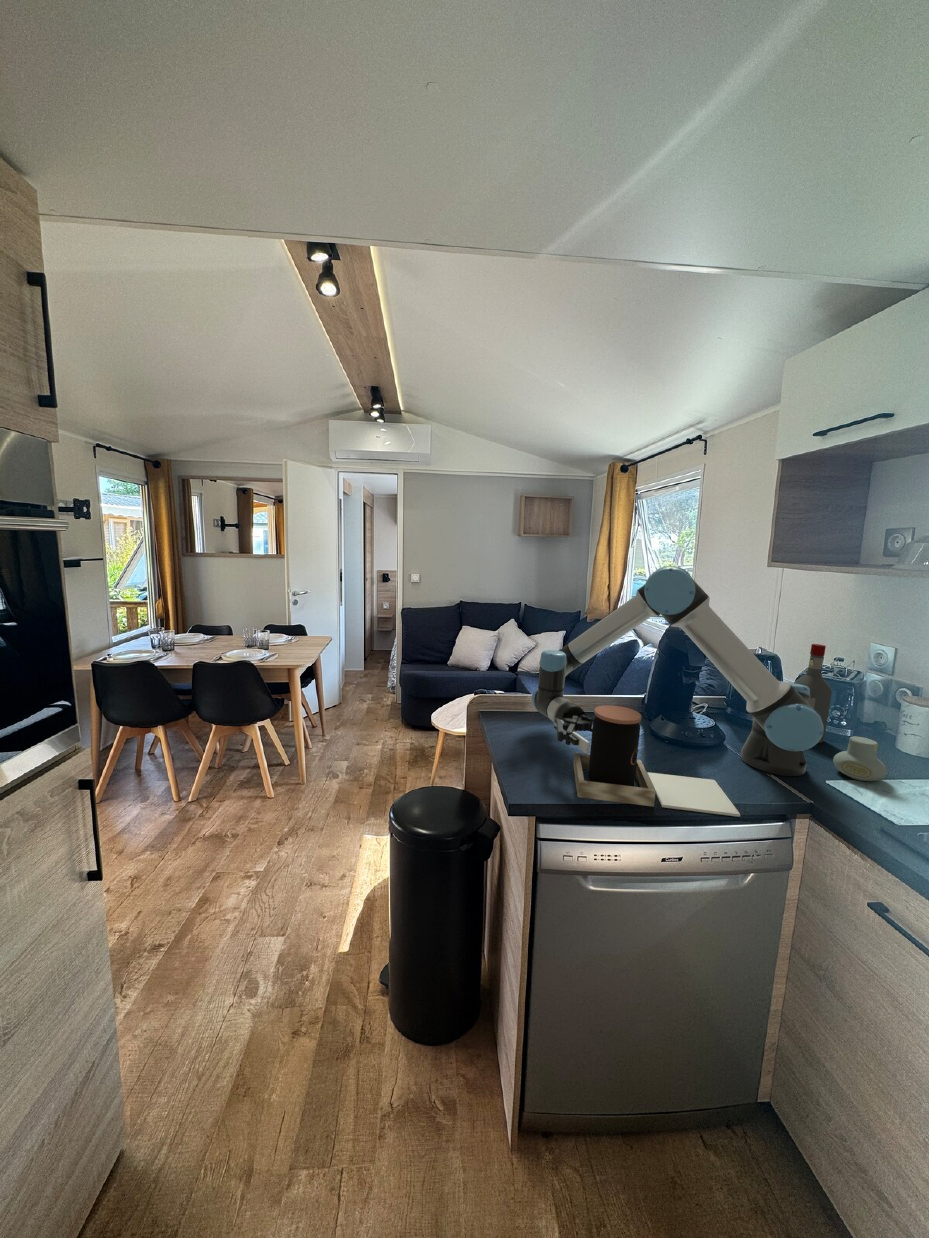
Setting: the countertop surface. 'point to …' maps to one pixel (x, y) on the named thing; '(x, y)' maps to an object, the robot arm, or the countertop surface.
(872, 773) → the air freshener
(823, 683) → the liquor
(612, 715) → the coffee jar
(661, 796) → the cream mat
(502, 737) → the countertop surface
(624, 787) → the birch corral
